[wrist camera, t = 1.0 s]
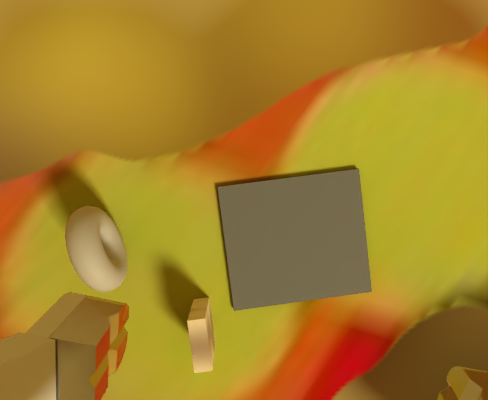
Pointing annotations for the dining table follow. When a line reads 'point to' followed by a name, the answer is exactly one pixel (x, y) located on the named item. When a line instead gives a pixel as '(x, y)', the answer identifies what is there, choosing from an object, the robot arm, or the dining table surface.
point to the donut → (96, 248)
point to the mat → (295, 239)
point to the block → (201, 335)
